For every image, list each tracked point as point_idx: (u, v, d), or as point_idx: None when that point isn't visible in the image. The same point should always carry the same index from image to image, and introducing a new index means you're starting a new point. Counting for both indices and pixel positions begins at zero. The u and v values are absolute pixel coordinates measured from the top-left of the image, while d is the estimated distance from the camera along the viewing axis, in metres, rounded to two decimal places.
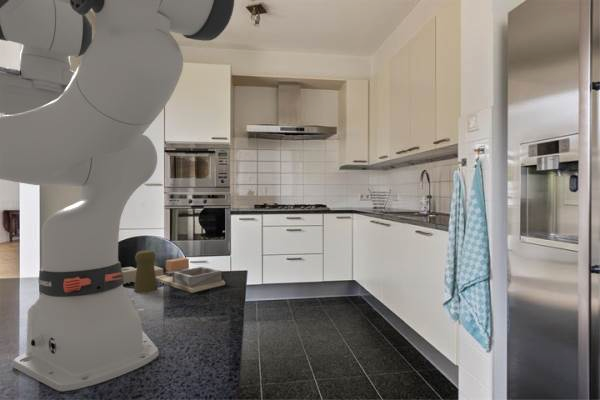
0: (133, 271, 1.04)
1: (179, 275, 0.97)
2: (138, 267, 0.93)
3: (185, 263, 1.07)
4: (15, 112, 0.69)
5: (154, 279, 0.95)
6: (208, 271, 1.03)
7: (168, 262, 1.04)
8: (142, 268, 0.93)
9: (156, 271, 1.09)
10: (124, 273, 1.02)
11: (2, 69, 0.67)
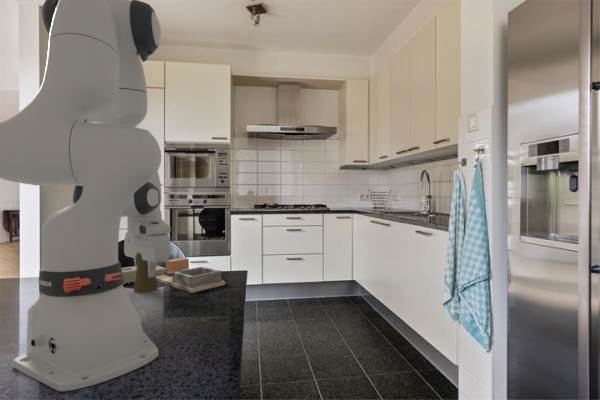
0: None
1: (179, 275, 0.97)
2: (138, 267, 0.93)
3: (185, 263, 1.07)
4: (130, 256, 0.97)
5: (154, 279, 0.95)
6: (208, 271, 1.03)
7: (168, 262, 1.04)
8: (142, 268, 0.93)
9: (159, 271, 1.09)
10: (127, 273, 1.03)
11: None
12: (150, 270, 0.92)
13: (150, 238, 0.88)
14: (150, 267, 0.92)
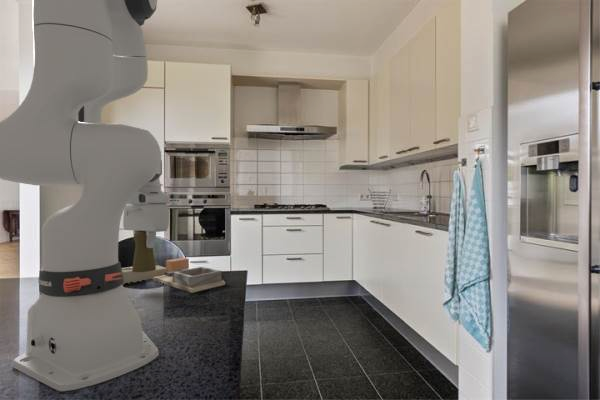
0: None
1: (179, 275, 0.97)
2: (136, 246, 0.92)
3: (185, 263, 1.07)
4: (129, 229, 0.97)
5: (152, 259, 0.94)
6: (208, 271, 1.03)
7: (168, 262, 1.04)
8: (140, 247, 0.92)
9: (160, 270, 1.09)
10: (128, 272, 1.03)
11: None
12: (149, 240, 0.92)
13: (149, 206, 0.87)
14: (149, 237, 0.91)
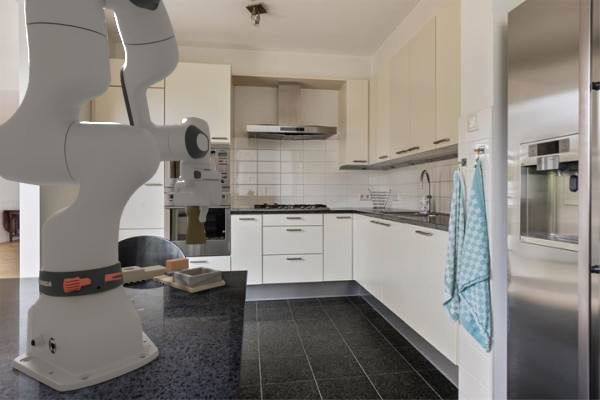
0: (138, 270, 1.05)
1: (179, 275, 0.97)
2: (189, 221, 0.98)
3: (185, 263, 1.07)
4: (181, 204, 1.02)
5: (204, 233, 0.99)
6: (208, 271, 1.03)
7: (168, 262, 1.04)
8: (193, 221, 0.97)
9: (161, 270, 1.10)
10: (129, 272, 1.03)
11: None
12: (202, 215, 0.97)
13: (205, 182, 0.92)
14: (202, 212, 0.96)
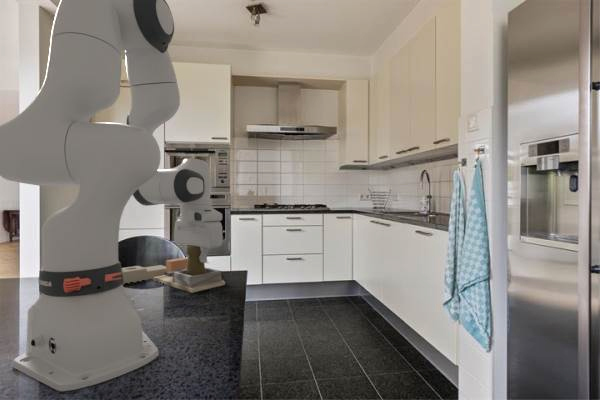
0: (140, 270, 1.05)
1: (179, 275, 0.97)
2: (190, 260, 0.98)
3: (185, 263, 1.07)
4: (181, 243, 1.02)
5: (204, 271, 0.99)
6: (208, 271, 1.03)
7: (168, 262, 1.04)
8: (193, 261, 0.97)
9: (163, 270, 1.10)
10: (132, 272, 1.03)
11: None
12: (203, 255, 0.97)
13: (205, 224, 0.92)
14: (203, 253, 0.96)
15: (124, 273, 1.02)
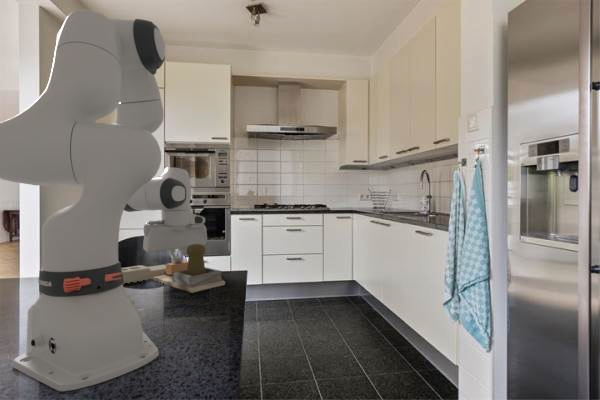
0: (144, 269, 1.06)
1: (179, 275, 0.97)
2: (190, 260, 0.98)
3: (185, 266, 1.07)
4: (163, 249, 1.02)
5: (204, 271, 0.99)
6: (208, 271, 1.03)
7: (168, 266, 1.05)
8: (193, 261, 0.97)
9: None
10: (135, 271, 1.04)
11: (155, 222, 1.01)
12: None
13: (204, 225, 1.12)
14: None
15: (128, 272, 1.03)
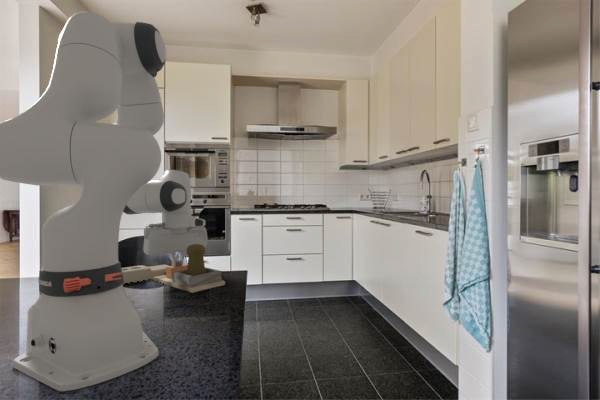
0: (144, 269, 1.06)
1: (179, 275, 0.97)
2: (190, 260, 0.98)
3: (185, 269, 1.07)
4: (163, 252, 1.02)
5: (204, 271, 0.99)
6: (208, 271, 1.03)
7: (168, 268, 1.05)
8: (193, 261, 0.97)
9: None
10: (136, 271, 1.04)
11: (155, 225, 1.01)
12: None
13: (204, 228, 1.11)
14: None
15: (128, 272, 1.03)
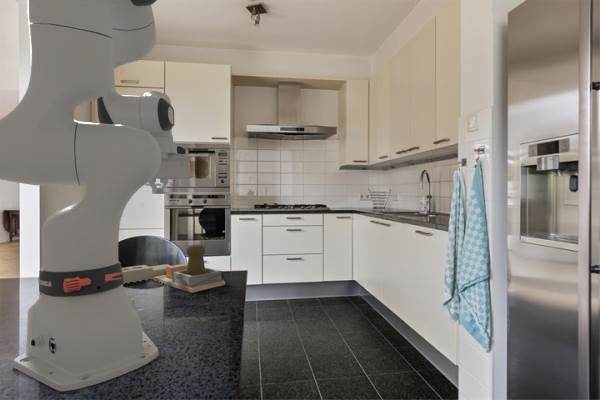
0: (146, 269, 1.07)
1: (179, 275, 0.97)
2: (190, 260, 0.98)
3: (185, 269, 1.07)
4: None
5: (204, 271, 0.99)
6: (208, 271, 1.03)
7: (168, 268, 1.05)
8: (193, 261, 0.97)
9: None
10: (138, 271, 1.05)
11: None
12: None
13: (187, 158, 1.07)
14: None
15: (130, 272, 1.03)
